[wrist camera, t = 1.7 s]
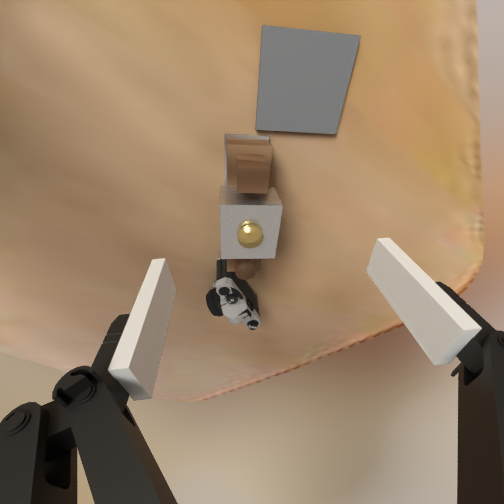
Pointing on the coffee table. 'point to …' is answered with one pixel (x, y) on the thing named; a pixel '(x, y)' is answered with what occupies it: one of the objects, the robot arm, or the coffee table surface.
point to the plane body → (247, 181)
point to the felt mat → (303, 79)
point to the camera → (233, 298)
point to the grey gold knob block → (249, 223)
